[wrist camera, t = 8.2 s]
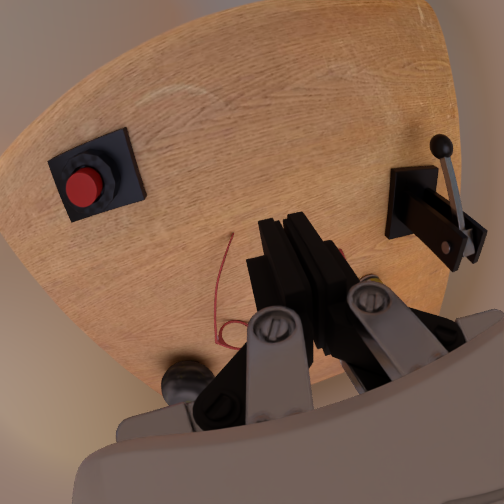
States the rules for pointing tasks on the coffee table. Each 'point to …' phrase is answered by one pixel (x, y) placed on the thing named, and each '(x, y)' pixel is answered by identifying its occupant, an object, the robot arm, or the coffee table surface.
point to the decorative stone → (185, 382)
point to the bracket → (428, 216)
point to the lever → (451, 186)
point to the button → (84, 187)
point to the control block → (101, 173)
